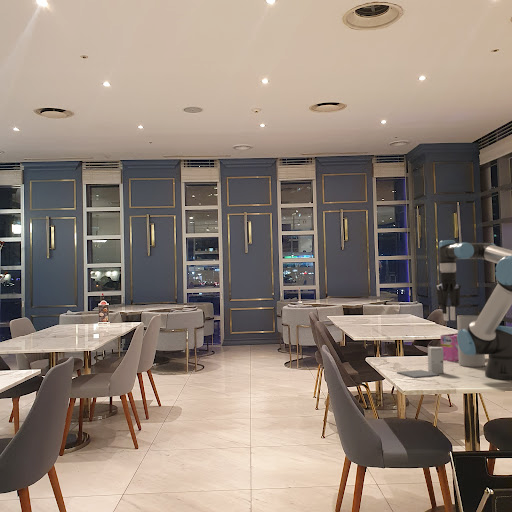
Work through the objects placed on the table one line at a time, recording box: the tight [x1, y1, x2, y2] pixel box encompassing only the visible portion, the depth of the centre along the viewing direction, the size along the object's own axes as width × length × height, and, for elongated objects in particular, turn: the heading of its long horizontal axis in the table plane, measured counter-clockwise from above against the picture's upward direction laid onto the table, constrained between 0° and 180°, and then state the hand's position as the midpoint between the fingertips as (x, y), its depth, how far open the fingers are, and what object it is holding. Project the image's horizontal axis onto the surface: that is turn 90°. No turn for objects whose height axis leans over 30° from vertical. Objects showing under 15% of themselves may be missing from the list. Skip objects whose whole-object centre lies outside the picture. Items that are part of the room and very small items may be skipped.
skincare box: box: [427, 346, 444, 374], centre depth 247 cm, size 6×4×12 cm
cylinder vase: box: [456, 315, 486, 368], centre depth 266 cm, size 12×12×25 cm
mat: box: [396, 369, 440, 379], centre depth 243 cm, size 13×14×1 cm
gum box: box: [440, 332, 459, 362], centre depth 289 cm, size 24×8×14 cm, turn 125°
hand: (449, 320), depth 251 cm, fingers open, 3 cm apart
